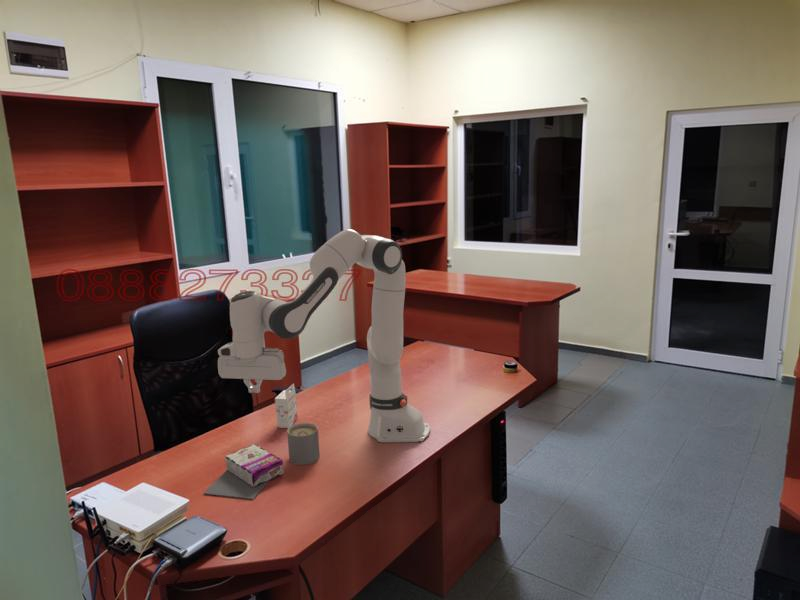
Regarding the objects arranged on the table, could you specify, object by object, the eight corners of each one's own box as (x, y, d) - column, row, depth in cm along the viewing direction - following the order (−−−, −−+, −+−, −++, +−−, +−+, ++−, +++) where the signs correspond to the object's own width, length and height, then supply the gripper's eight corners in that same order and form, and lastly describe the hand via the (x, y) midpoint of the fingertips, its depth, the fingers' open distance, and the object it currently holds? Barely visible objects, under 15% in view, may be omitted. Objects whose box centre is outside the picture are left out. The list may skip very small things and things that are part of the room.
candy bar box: (284, 474, 176) (256, 456, 187) (283, 459, 174) (255, 442, 186) (252, 488, 168) (225, 469, 179) (251, 473, 167) (224, 455, 178)
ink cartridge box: (285, 418, 217) (283, 382, 214) (297, 418, 216) (295, 382, 213) (276, 427, 209) (273, 390, 206) (289, 428, 208) (286, 391, 205)
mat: (277, 471, 178) (276, 470, 178) (253, 499, 163) (253, 498, 163) (231, 467, 181) (230, 466, 181) (203, 494, 166) (203, 493, 166)
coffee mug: (307, 467, 180) (305, 438, 178) (283, 460, 185) (280, 432, 182) (331, 449, 191) (329, 422, 189) (308, 443, 196) (306, 416, 194)
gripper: (287, 344, 164) (291, 389, 167) (223, 343, 169) (229, 386, 172) (278, 351, 158) (282, 397, 161) (212, 350, 163) (218, 394, 166)
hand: (254, 392), depth 166 cm, fingers closed
